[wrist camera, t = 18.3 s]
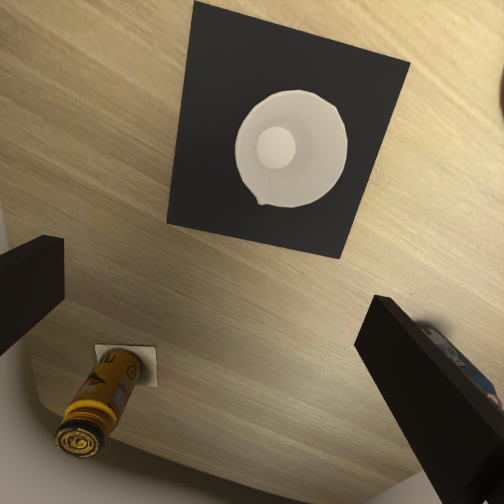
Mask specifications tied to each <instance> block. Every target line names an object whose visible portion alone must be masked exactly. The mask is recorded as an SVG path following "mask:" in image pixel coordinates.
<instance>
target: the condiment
mask: <svg viewBox="0 0 504 504" xmlns="http://www.w3.org/2000/svg"><path fill="white" fill-rule="evenodd" d="M95 351H96V355H97V361H98V363H97V364H96V365H95V367H94V368H93V370H92V371H91V373H90V374H89V376H88V378H87V379H86V381H85V382H84V384H83V385H82V387H81V388H80V390H79V391H78V393H77V394H76V396H75V397H74V399H73V400H72V402H71V403H70V405H69V406H68V408H67V410H66V412H65V418H64V419H63V421H62V424H61V425H60V426H59V428H58V429H57V431H56V433H55V437H54V440H55V444H56V447H58V449H59V450H60V451H61V452H62V453H64V454H66V455H68V456H71V457H74V458H75V457H76V458H80V459H85V458H91V457H93V456H95V455H96V454H97V453H98V452H99V451H100V450H102V448H103V447H104V444H105V441H106V440H107V438H108V437H109V435H110V433H111V432H112V431H113V430H114V429H115V428H116V426H117V424H118V422H119V420H120V418H121V415H122V413H123V411H124V409H125V406H126V404H127V402H128V400H129V397H130V395H131V393H132V391H133V389H134V386H150V387H158V384H157V362H156V351H155V347H146V346H143V347H140V346H125V345H101V344H100V345H95Z"/></svg>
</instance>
